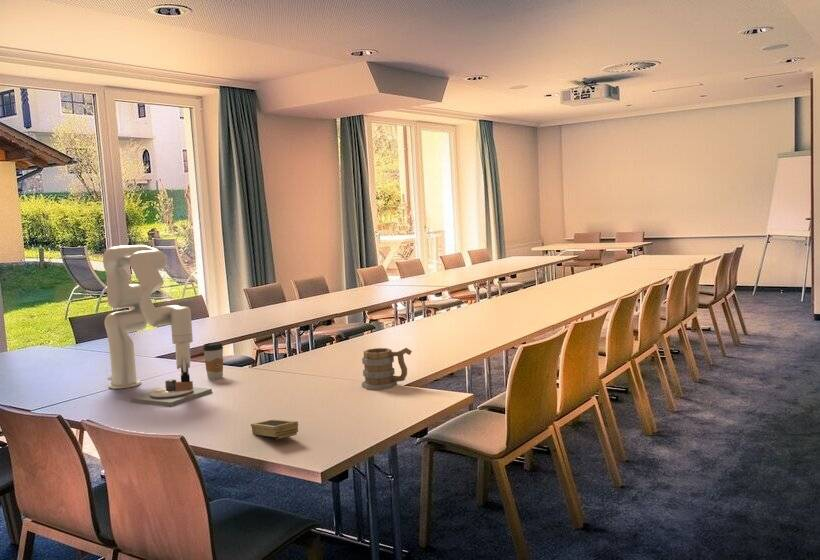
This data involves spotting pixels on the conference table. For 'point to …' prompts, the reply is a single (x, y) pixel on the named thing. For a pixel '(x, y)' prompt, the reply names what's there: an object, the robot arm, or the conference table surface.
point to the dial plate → (171, 398)
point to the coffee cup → (214, 360)
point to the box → (275, 428)
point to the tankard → (382, 368)
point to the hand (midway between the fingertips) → (185, 385)
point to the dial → (172, 389)
